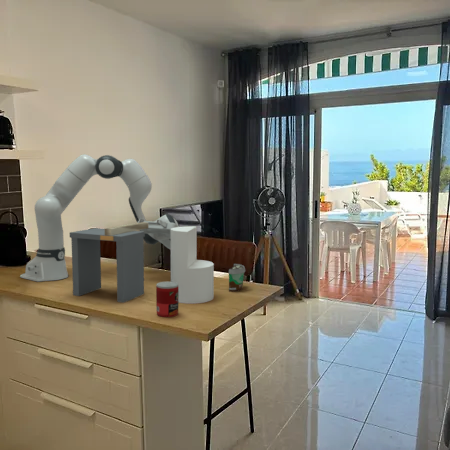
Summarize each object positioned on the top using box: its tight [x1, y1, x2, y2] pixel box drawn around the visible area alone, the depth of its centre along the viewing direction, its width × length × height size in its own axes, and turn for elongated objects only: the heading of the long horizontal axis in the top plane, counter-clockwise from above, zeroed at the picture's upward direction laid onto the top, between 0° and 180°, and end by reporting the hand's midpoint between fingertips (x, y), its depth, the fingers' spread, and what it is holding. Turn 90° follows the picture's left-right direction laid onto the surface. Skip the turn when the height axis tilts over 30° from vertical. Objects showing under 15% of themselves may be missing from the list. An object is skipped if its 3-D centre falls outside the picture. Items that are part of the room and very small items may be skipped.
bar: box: [104, 222, 148, 236], centre depth 185 cm, size 3×26×2 cm, turn 157°
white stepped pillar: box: [170, 225, 215, 305], centre depth 181 cm, size 17×17×28 cm
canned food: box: [155, 281, 179, 318], centre depth 160 cm, size 8×8×11 cm
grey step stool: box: [69, 227, 145, 304], centre depth 184 cm, size 25×16×26 cm, turn 67°
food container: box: [228, 263, 246, 293], centre depth 196 cm, size 12×6×10 cm, turn 168°
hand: (149, 220), depth 200 cm, fingers open, 8 cm apart
